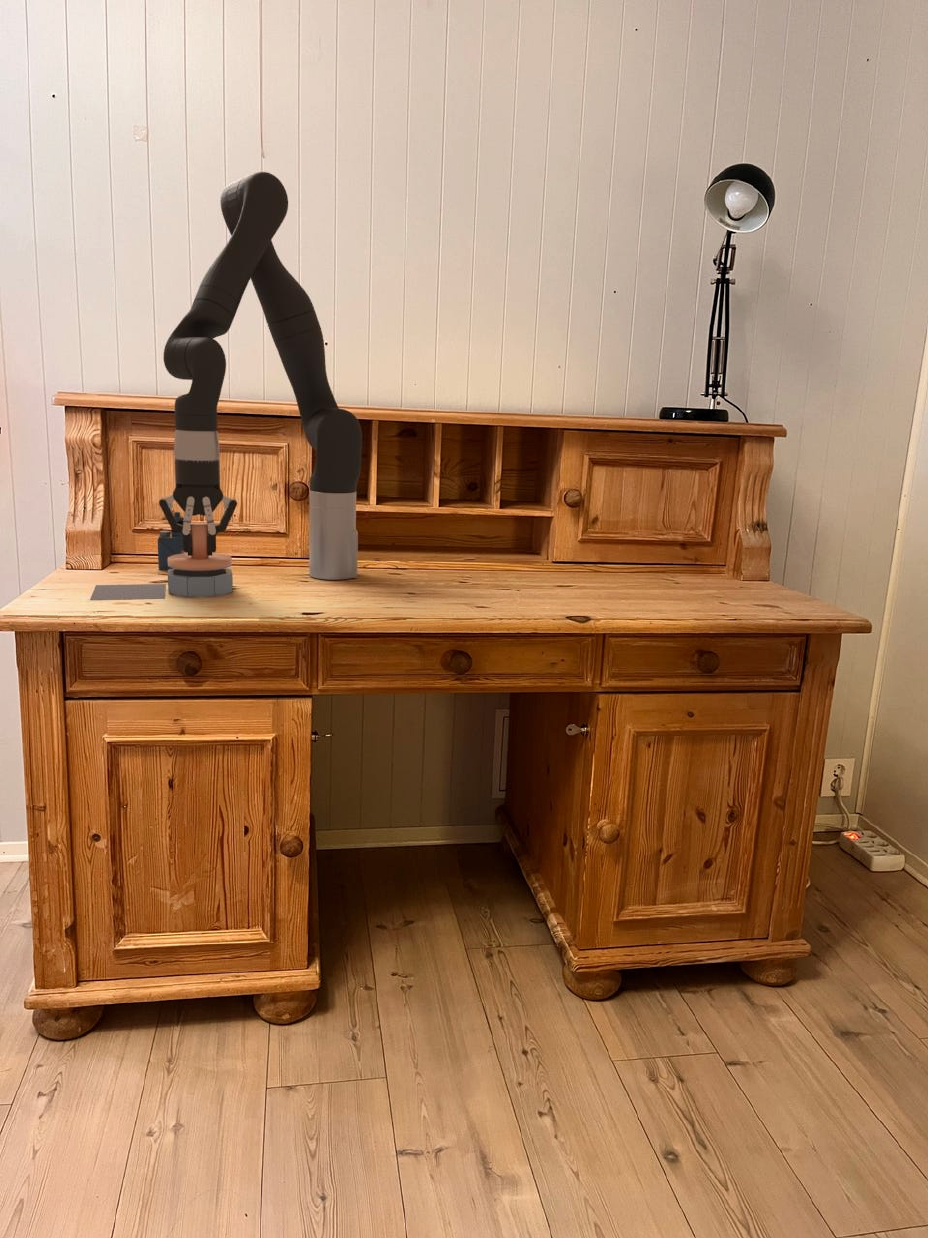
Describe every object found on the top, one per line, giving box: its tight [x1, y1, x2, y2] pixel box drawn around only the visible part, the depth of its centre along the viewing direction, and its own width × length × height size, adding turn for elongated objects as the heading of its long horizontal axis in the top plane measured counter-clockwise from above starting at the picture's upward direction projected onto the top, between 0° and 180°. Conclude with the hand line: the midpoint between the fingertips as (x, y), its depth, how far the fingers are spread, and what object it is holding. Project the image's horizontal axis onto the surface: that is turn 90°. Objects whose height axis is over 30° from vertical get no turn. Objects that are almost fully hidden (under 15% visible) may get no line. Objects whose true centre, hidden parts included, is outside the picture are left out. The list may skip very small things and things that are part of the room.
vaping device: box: [157, 511, 185, 572], centre depth 177 cm, size 3×5×12 cm, turn 89°
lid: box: [168, 522, 233, 571], centre depth 159 cm, size 11×11×7 cm
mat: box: [89, 583, 167, 601], centre depth 158 cm, size 12×12×1 cm
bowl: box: [167, 567, 234, 598], centre depth 161 cm, size 11×11×4 cm
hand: (199, 554), depth 160 cm, fingers closed on lid, 3 cm apart
